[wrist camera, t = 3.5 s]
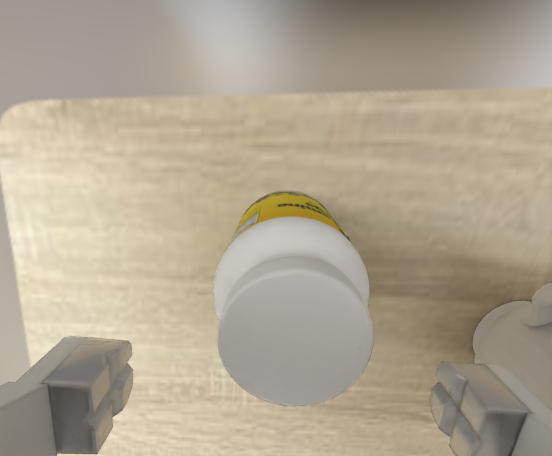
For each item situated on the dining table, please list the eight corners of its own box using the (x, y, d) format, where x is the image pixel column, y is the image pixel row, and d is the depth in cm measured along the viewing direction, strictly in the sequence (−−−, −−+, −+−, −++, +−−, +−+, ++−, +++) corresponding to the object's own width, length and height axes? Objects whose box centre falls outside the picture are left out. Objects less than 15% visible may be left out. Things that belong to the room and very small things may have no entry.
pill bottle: (354, 228, 19) (448, 330, 9) (293, 297, 21) (310, 458, 10) (278, 167, 18) (279, 199, 8) (219, 243, 20) (150, 359, 9)
